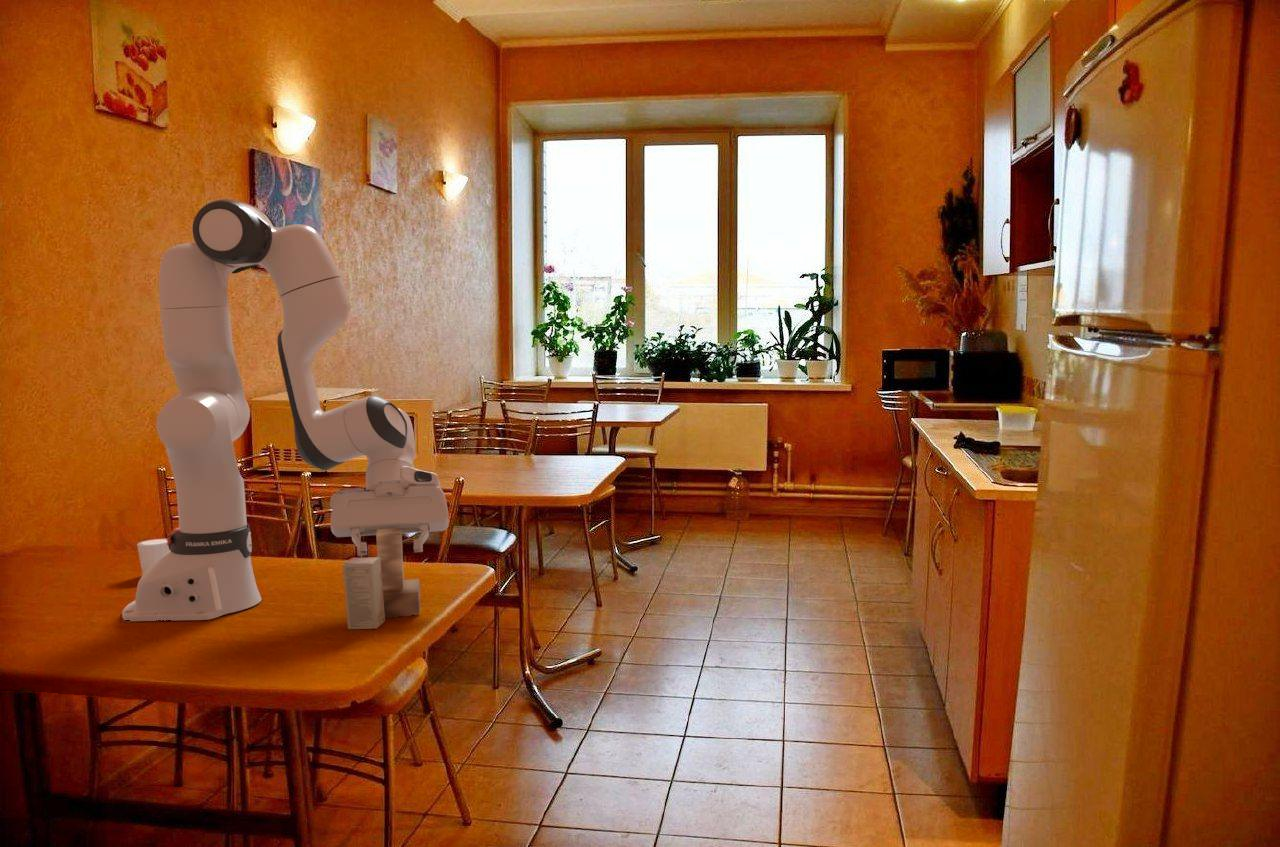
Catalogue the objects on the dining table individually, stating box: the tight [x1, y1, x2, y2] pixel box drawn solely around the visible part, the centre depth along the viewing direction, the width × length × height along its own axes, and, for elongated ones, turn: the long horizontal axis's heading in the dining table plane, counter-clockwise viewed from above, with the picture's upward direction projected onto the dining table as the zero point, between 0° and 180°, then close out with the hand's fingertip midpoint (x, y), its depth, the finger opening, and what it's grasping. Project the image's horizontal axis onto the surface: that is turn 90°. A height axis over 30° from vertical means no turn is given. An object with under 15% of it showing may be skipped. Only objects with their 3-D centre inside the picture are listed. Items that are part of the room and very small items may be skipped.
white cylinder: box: [136, 537, 170, 576], centre depth 201 cm, size 7×7×7 cm
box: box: [342, 556, 386, 630], centre depth 165 cm, size 5×4×11 cm
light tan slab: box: [383, 578, 422, 618], centre depth 174 cm, size 9×9×4 cm
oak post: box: [375, 528, 405, 591], centre depth 173 cm, size 4×4×10 cm
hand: (390, 552), depth 172 cm, fingers open, 8 cm apart
